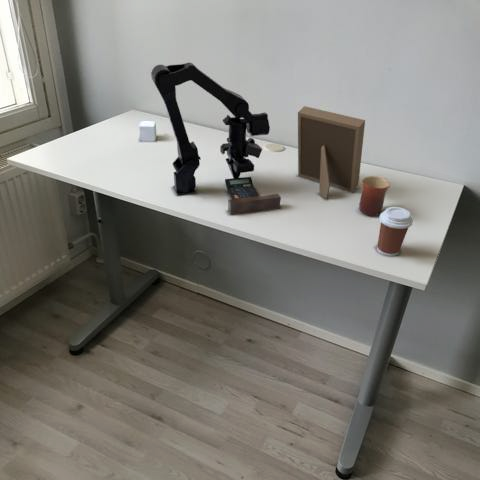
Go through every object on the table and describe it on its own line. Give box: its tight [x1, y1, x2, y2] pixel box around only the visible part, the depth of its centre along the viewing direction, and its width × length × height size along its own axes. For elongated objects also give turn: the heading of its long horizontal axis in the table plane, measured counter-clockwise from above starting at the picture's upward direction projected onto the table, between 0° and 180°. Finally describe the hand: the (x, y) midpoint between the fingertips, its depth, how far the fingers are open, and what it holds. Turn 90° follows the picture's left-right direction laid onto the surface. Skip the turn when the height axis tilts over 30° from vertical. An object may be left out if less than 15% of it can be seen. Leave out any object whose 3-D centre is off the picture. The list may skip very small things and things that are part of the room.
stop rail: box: [227, 193, 282, 216], centre depth 157 cm, size 17×2×4 cm, turn 109°
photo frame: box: [297, 105, 366, 199], centre depth 165 cm, size 15×22×25 cm
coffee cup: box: [376, 206, 414, 257], centre depth 139 cm, size 9×9×12 cm
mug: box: [358, 175, 391, 217], centre depth 158 cm, size 12×9×10 cm
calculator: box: [224, 176, 261, 200], centre depth 167 cm, size 9×12×3 cm
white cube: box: [138, 120, 158, 142], centre depth 202 cm, size 6×6×6 cm
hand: (236, 180), depth 172 cm, fingers closed
